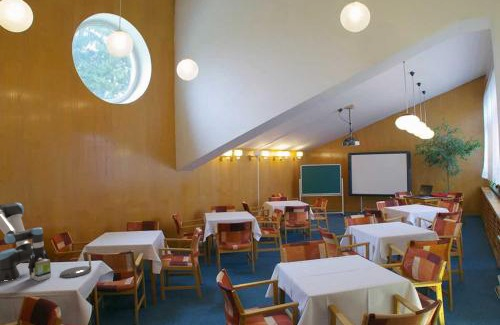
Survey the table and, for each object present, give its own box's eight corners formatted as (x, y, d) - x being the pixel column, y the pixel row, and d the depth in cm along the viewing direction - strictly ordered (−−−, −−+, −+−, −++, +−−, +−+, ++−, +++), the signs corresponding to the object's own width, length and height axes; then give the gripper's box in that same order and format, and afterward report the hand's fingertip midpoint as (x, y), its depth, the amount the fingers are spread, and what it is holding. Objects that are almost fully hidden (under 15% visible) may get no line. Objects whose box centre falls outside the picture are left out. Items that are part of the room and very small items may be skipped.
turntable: (57, 279, 259) (56, 263, 259) (62, 270, 280) (61, 255, 280) (90, 274, 268) (89, 258, 267) (92, 266, 289) (91, 251, 289)
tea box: (51, 277, 266) (50, 259, 266) (38, 281, 258) (37, 263, 257) (42, 274, 274) (41, 256, 274) (29, 278, 266) (27, 260, 265)
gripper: (28, 251, 253) (30, 279, 253) (54, 242, 276) (55, 268, 276) (21, 251, 255) (23, 278, 255) (47, 242, 278) (48, 268, 278)
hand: (40, 273), depth 266 cm, fingers closed on tea box, 11 cm apart
